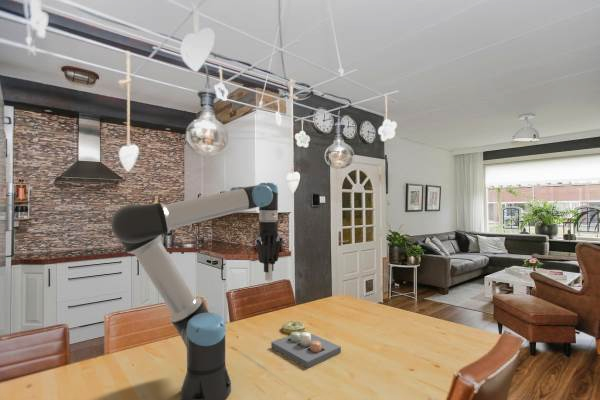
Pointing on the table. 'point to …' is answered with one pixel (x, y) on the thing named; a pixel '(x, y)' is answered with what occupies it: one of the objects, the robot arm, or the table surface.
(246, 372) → the table surface
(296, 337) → the sage button
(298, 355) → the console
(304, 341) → the white egg
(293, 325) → the decorated donut
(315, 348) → the terracotta button
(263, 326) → the table surface
